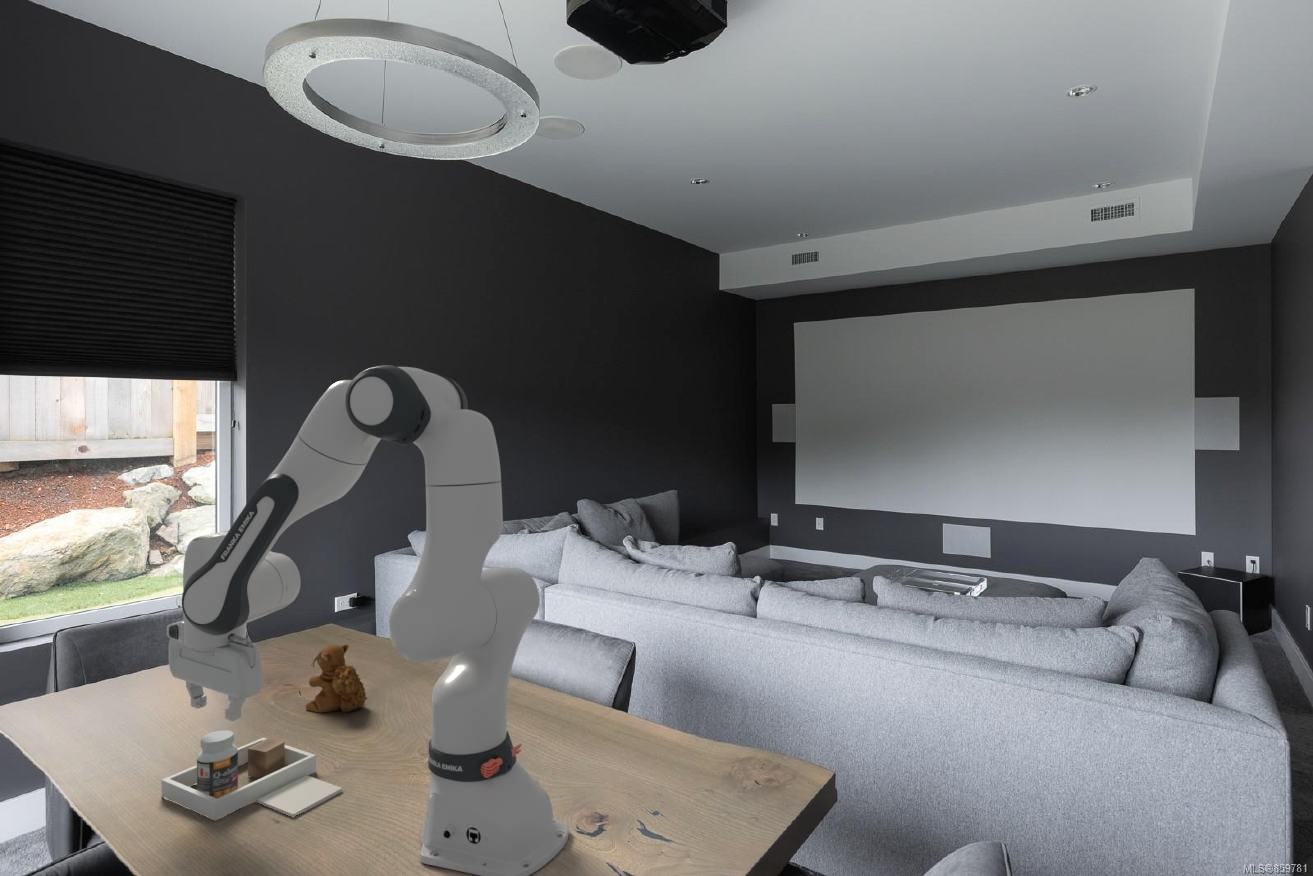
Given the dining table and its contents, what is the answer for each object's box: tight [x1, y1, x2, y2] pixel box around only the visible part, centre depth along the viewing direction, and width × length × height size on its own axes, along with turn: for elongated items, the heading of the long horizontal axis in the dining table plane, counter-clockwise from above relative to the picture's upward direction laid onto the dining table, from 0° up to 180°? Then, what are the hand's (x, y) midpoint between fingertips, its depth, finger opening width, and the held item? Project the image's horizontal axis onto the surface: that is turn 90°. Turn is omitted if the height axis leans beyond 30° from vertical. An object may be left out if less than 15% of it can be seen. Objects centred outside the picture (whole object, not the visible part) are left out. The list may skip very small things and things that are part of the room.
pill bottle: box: [196, 729, 239, 799], centre depth 118 cm, size 6×6×10 cm
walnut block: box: [247, 738, 286, 779], centre depth 126 cm, size 4×4×5 cm
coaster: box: [256, 775, 343, 818], centre depth 118 cm, size 9×9×1 cm
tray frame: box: [161, 737, 317, 821], centre depth 122 cm, size 15×18×3 cm
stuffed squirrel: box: [304, 643, 368, 714], centre depth 154 cm, size 10×14×13 cm
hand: (215, 712), depth 118 cm, fingers open, 8 cm apart
